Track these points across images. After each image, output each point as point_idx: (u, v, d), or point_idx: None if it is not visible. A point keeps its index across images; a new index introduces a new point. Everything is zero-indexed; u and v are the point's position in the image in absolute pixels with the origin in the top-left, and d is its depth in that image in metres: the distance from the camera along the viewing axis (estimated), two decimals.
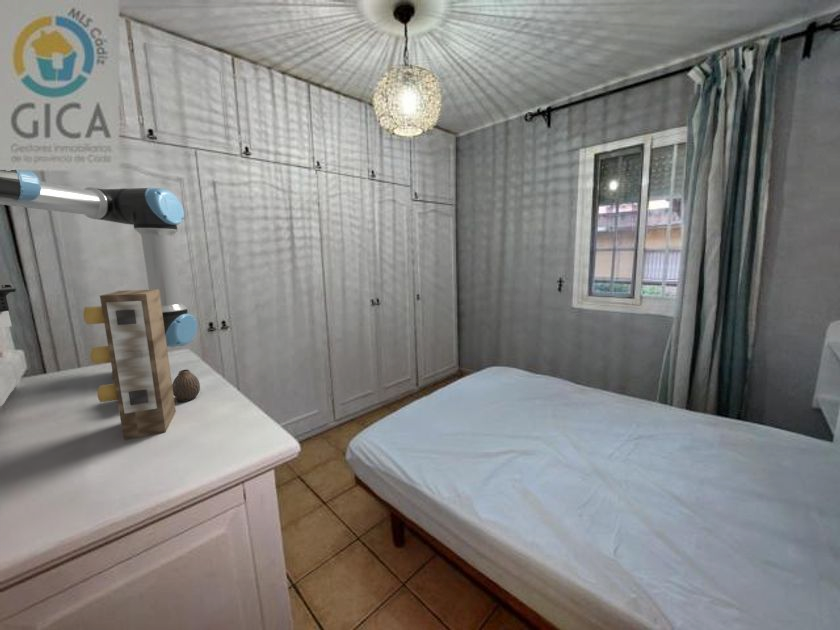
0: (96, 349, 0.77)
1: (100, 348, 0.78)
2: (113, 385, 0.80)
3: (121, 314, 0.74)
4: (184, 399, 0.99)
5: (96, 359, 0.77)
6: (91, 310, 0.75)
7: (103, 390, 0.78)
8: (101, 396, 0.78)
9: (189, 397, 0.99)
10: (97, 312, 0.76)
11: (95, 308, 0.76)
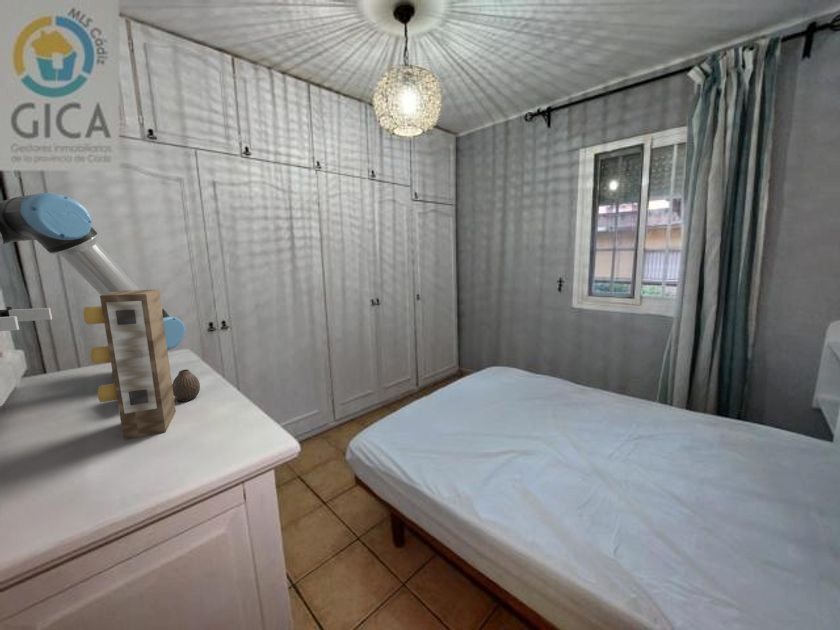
0: (96, 349, 0.77)
1: (100, 348, 0.78)
2: (113, 385, 0.80)
3: (121, 314, 0.74)
4: (184, 399, 0.99)
5: (96, 359, 0.77)
6: (91, 310, 0.75)
7: (103, 390, 0.78)
8: (101, 396, 0.78)
9: (189, 397, 0.99)
10: (97, 312, 0.76)
11: (95, 308, 0.76)
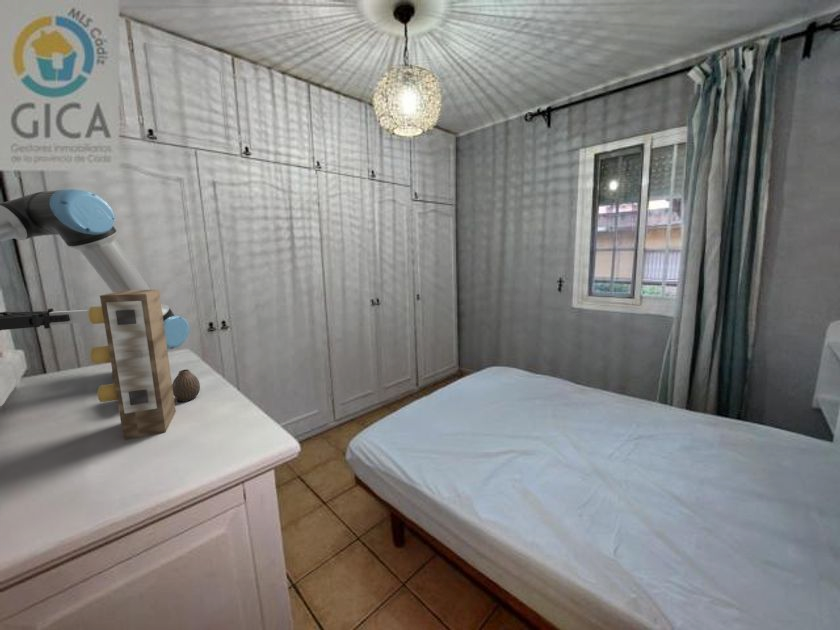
0: (96, 349, 0.77)
1: (100, 348, 0.78)
2: (113, 385, 0.80)
3: (121, 314, 0.74)
4: (184, 399, 0.99)
5: (96, 359, 0.77)
6: (97, 309, 0.76)
7: (103, 390, 0.78)
8: (101, 396, 0.78)
9: (189, 397, 0.99)
10: (102, 312, 0.76)
11: (100, 308, 0.76)
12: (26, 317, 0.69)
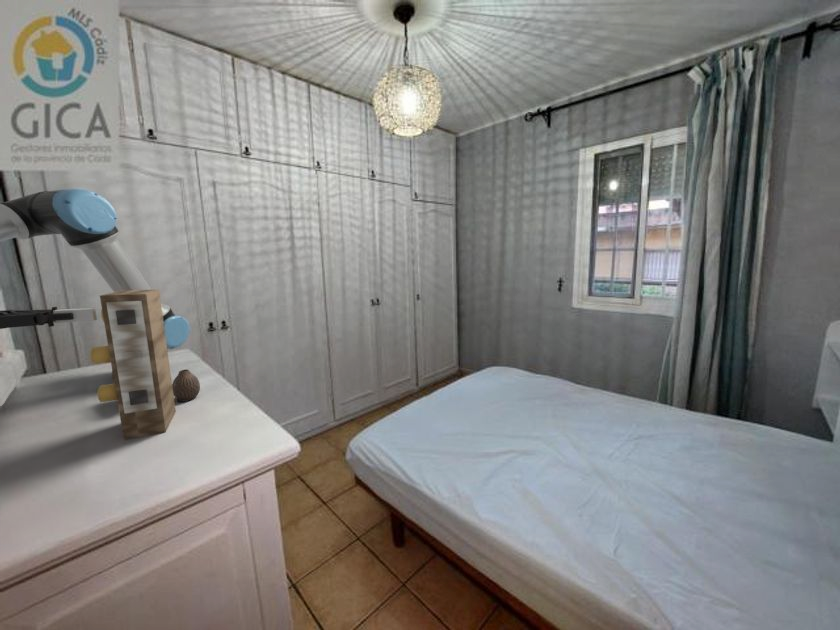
0: (96, 349, 0.77)
1: (100, 348, 0.78)
2: (113, 385, 0.80)
3: (121, 314, 0.74)
4: (184, 399, 0.99)
5: (96, 359, 0.77)
6: None
7: (103, 390, 0.78)
8: (101, 396, 0.78)
9: (189, 397, 0.99)
10: None
11: None
12: (31, 315, 0.69)
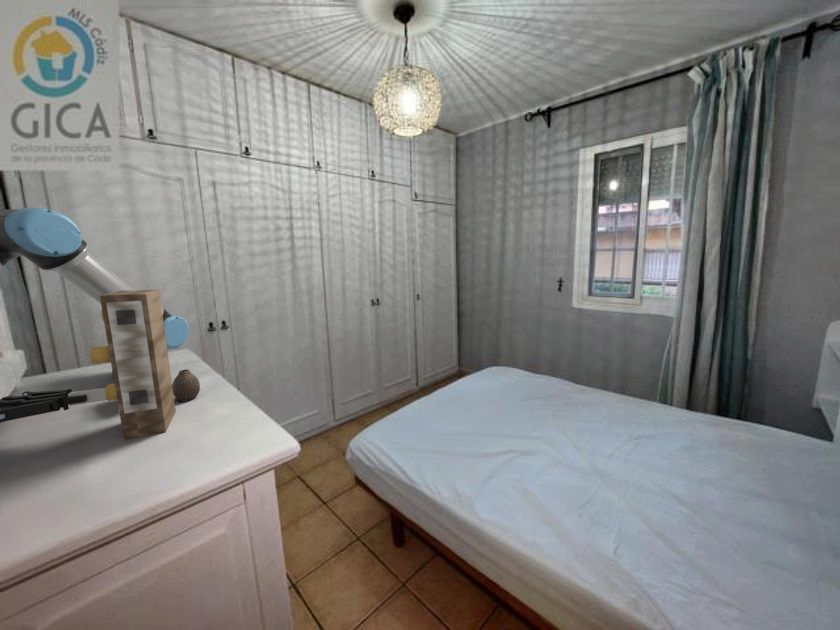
0: (96, 349, 0.77)
1: (100, 348, 0.78)
2: None
3: (121, 314, 0.74)
4: (184, 399, 0.99)
5: (96, 359, 0.77)
6: None
7: (110, 389, 0.79)
8: (109, 395, 0.79)
9: (189, 397, 0.99)
10: None
11: None
12: (47, 403, 0.72)
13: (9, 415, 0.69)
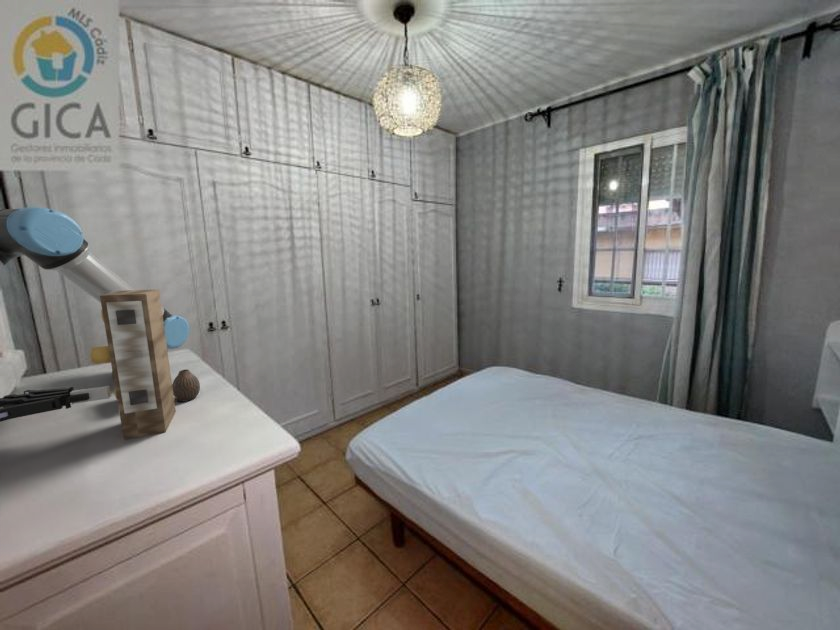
0: (96, 349, 0.77)
1: (100, 348, 0.78)
2: None
3: (121, 314, 0.74)
4: (184, 399, 0.99)
5: (96, 359, 0.77)
6: None
7: None
8: None
9: (189, 397, 0.99)
10: None
11: None
12: (49, 401, 0.73)
13: (12, 413, 0.69)
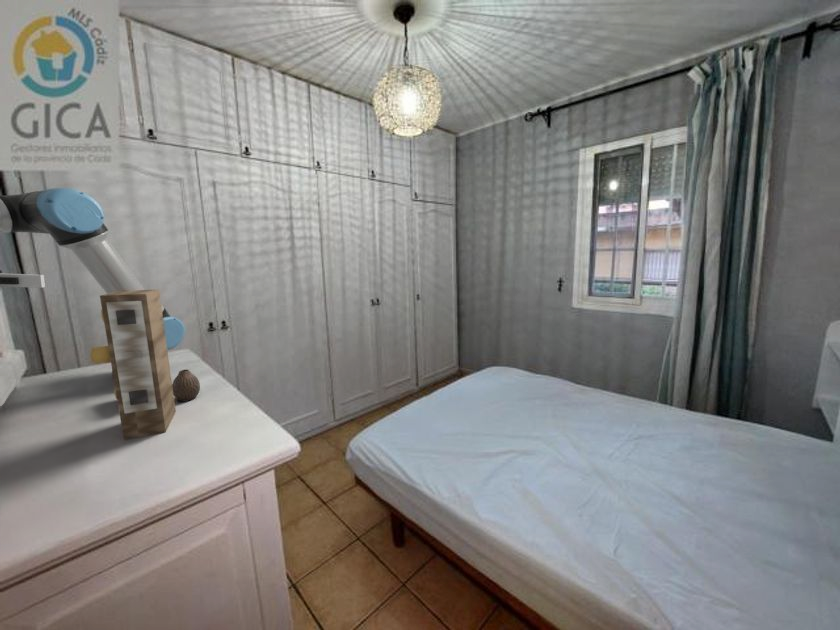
0: (96, 349, 0.77)
1: (100, 348, 0.78)
2: None
3: (121, 314, 0.74)
4: (184, 399, 0.99)
5: (96, 359, 0.77)
6: None
7: None
8: None
9: (189, 397, 0.99)
10: None
11: None
12: None
13: None
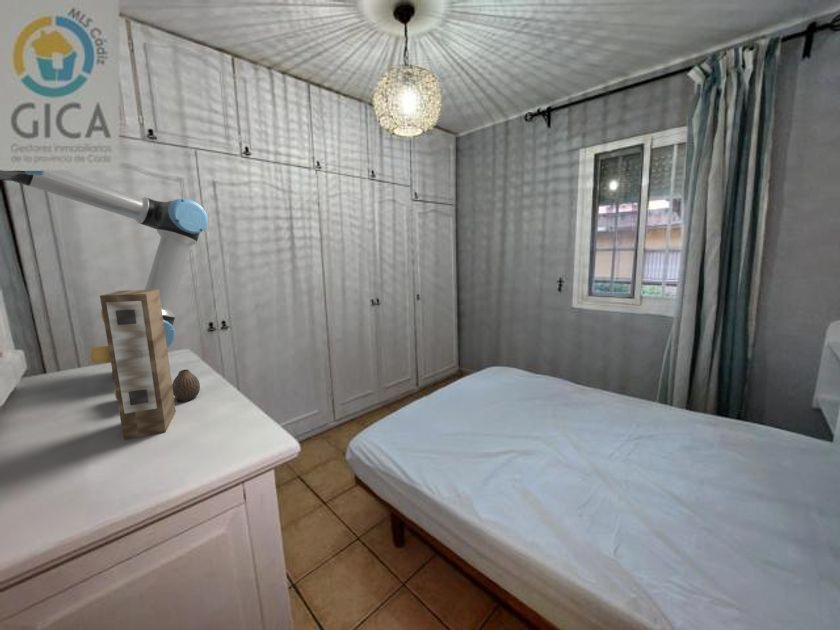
0: (96, 349, 0.77)
1: (100, 348, 0.78)
2: None
3: (121, 314, 0.74)
4: (184, 399, 0.99)
5: (96, 359, 0.77)
6: None
7: None
8: None
9: (189, 397, 0.99)
10: None
11: None
12: None
13: None
